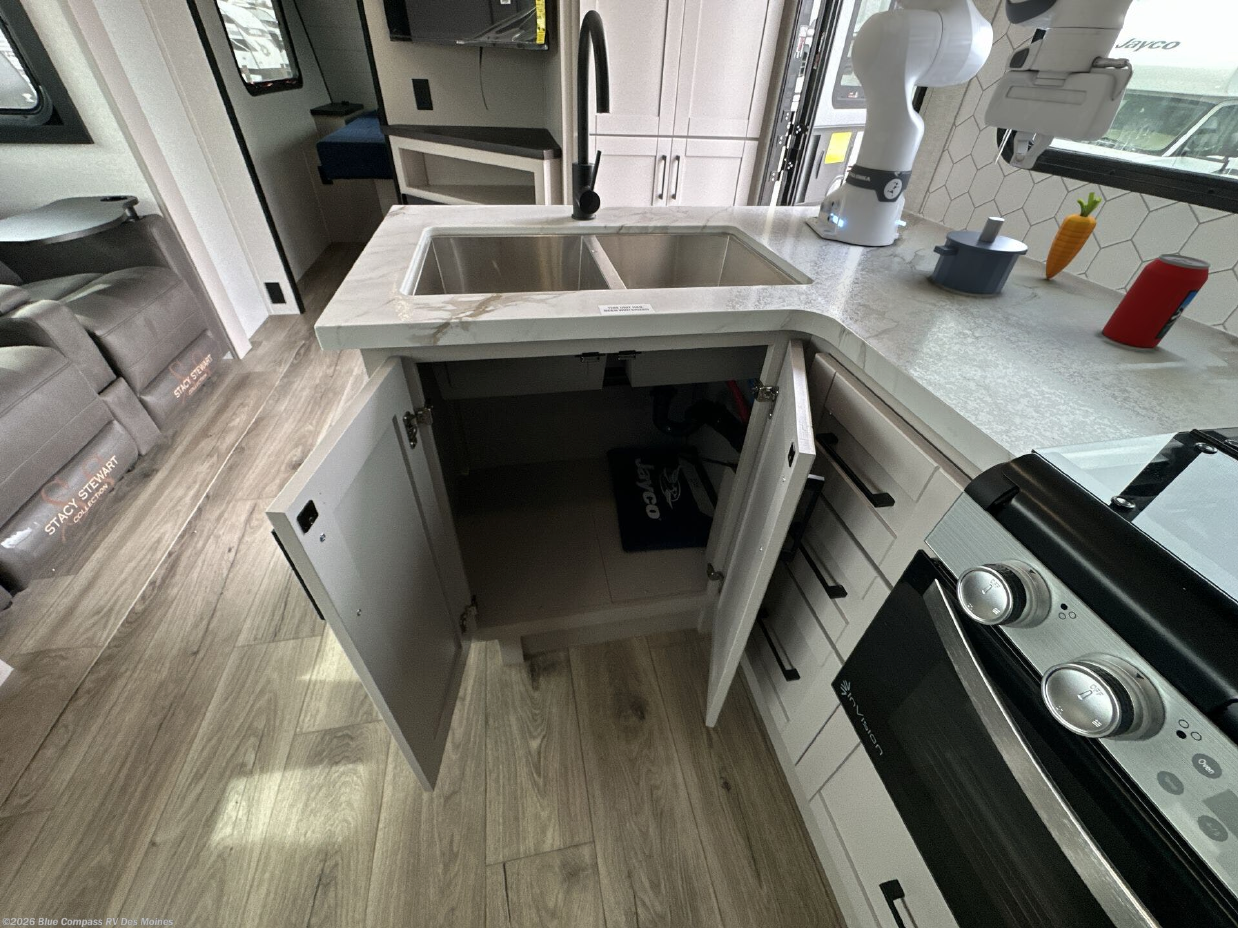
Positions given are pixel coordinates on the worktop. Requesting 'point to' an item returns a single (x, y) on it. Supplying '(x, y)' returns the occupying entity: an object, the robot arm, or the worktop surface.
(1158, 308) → the beverage can
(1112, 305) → the worktop surface
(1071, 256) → the carrot
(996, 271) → the pot
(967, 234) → the lid
